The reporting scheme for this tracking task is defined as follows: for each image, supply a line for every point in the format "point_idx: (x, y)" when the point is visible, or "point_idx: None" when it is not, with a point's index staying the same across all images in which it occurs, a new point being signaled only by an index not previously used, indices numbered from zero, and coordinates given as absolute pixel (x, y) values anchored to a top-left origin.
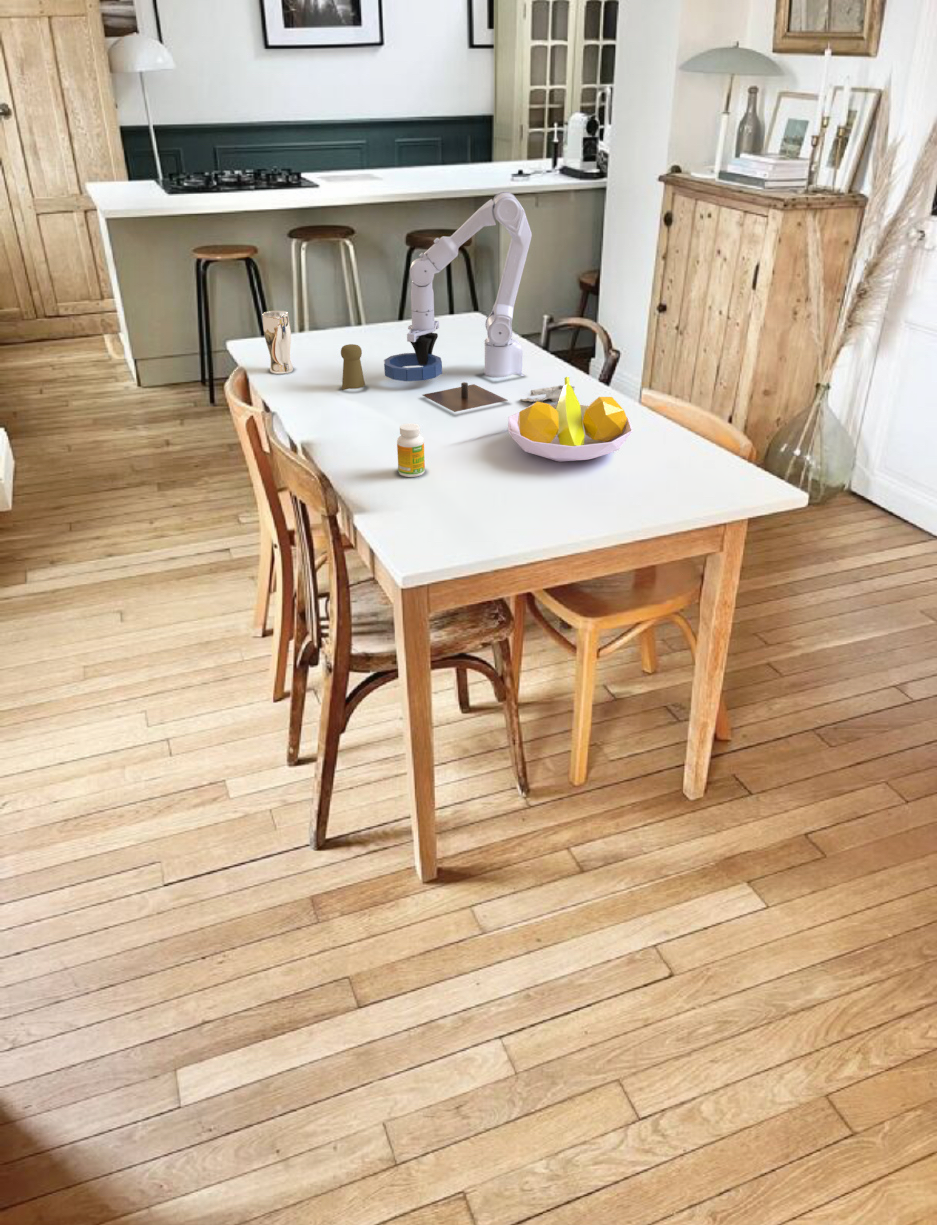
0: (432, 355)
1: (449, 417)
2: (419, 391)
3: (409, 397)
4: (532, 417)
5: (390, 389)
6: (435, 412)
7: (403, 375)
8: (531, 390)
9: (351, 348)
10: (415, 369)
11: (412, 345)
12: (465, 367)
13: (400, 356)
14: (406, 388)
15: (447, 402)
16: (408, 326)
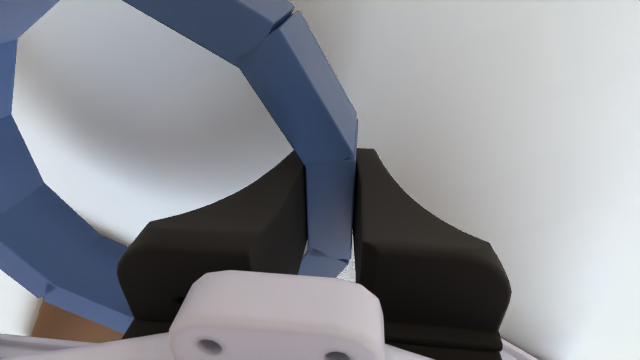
0: (317, 273)
1: (15, 334)
2: (143, 181)
3: (50, 173)
4: None
5: (65, 28)
6: (11, 297)
7: None
8: None
9: None
10: (7, 270)
11: (202, 210)
12: (599, 244)
13: (185, 34)
14: (138, 107)
15: (70, 324)
16: (189, 329)
